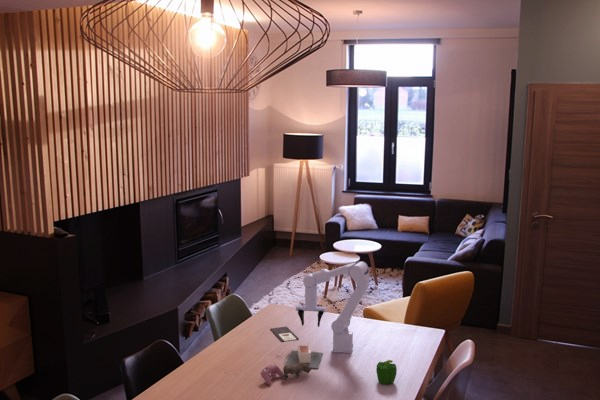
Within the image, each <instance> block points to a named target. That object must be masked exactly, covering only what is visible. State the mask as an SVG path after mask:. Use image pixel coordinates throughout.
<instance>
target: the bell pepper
mask: <svg viewBox="0 0 600 400" xmlns="http://www.w3.org/2000/svg"><path fill="white" fill-rule="evenodd" d="M397 369H398V368H397V364H396V363H393V360H392V359H388V360H386V361H378V363H377V365H376V371H375V372H376V376H377V381H378V384H380V385H384V386H385V385H392V384H393V383H394V382H395V380H396V376H397V373H398V372H397Z"/></svg>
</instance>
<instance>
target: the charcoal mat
mask: <svg viewBox="0 0 600 400" xmlns="http://www.w3.org/2000/svg"><path fill="white" fill-rule="evenodd" d="M310 352H311V363H307V366H309V367H310V368H312V369H311V370H319V366H320V364H321V361H322V357H323V354H324V352H318V351H310ZM298 363H300V362H299V358H298V350H290V353H289V355H288V357H287V359H286V361H285V363H284V366H286V365H295V364H298ZM303 364H306V363H303ZM284 366H283V367H284ZM309 367H307V368H309ZM310 368H309V369H310Z"/></svg>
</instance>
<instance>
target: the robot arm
mask: <svg viewBox="0 0 600 400" xmlns="http://www.w3.org/2000/svg"><path fill="white" fill-rule="evenodd" d="M370 272H371V271H370V268H369V266H368V264H367V263H366V262H365V261H361V260H360V261H358V262H351V263H349V264H345V265H342V266H339V267H336V268H334V269H331V270H329V269H327V268H321V269H320V270H318V271H316V272H315V271H313V272H312V273H311V272H310V273H309V274H307V275H305V276H304V278H303V279H302V282H303V285H304V305H296V306H295V311H296V312H297V315H298V316H299V320H300V322H301V326H302V327H303V326H304V325H305V312H317V327H318V328H320V324H321V320H322V317H323V315H324V313H327V307H324V306H318V301H317V300H318V290H317V289H318V285H320V284H324V283H327V282H330V281H331V279H332V278H334V277H337V276H341V275H344V274H345V275H346V276H348V277H351V279H352V280H353V281H354V282H355V284H356V287H355V289H354V290H353V292H352V294H351V296H350V297H349V299H348V301H347V303H346V304H345V306H344V308H343V309H342V311H341V313H340V314H339V315H338V317H337V318H336V319H335V320H334V321H332V322H331V325H330V326H331V330H332V348H331V352H332V353H345V354H352V352H353V348H354V342H353V340H354V338H353V336H354V334H353V333H354V332H352V331H350V330H349V326H350V325H351V319H352V316H353V314H354V313H355V311H356V309H357V307H358V306H359V304H360V303H361V301H362V299H363V297H364V295H365V294H366V292H367V290H368V288H369V287H370Z"/></svg>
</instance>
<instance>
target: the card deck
mask: <svg viewBox="0 0 600 400" xmlns="http://www.w3.org/2000/svg"><path fill="white" fill-rule="evenodd" d="M297 351H298V358H299V362H300V363H306V362H307V363H311V352H312V351H311V348H310V345H297Z"/></svg>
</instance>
